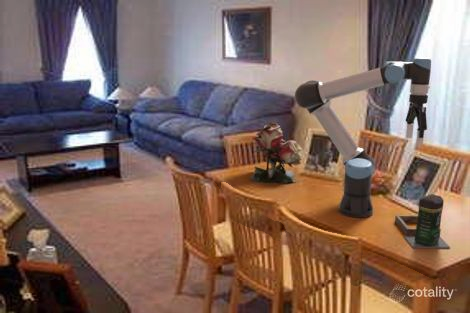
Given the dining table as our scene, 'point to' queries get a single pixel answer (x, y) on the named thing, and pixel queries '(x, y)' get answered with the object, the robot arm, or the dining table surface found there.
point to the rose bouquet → (276, 155)
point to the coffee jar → (429, 220)
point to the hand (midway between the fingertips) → (414, 141)
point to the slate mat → (414, 244)
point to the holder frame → (404, 219)
